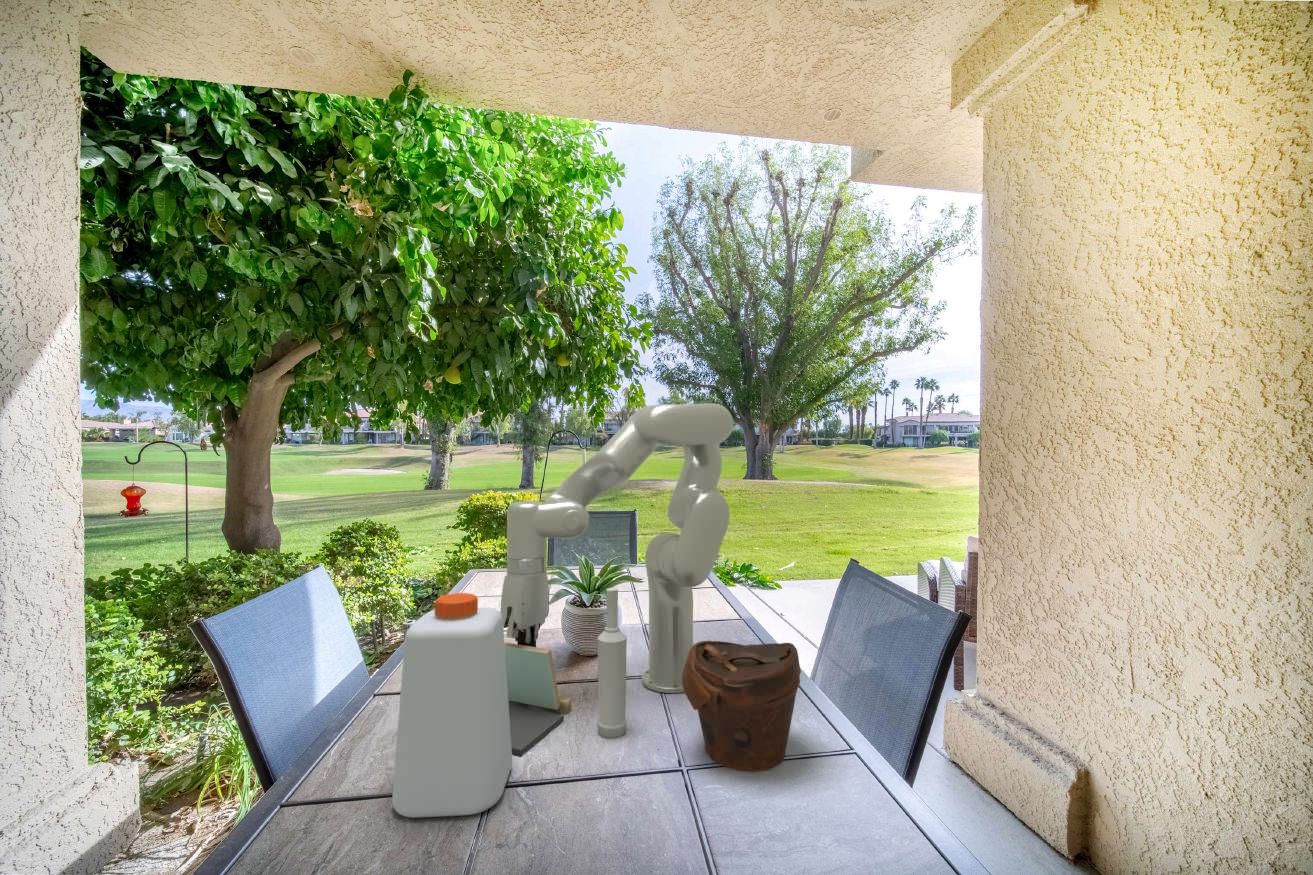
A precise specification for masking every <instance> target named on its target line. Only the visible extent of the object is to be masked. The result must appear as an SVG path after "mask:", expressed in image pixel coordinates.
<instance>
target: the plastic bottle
mask: <svg viewBox="0 0 1313 875" xmlns="http://www.w3.org/2000/svg"><path fill="white" fill-rule="evenodd" d="M478 601H479V598H478V597H477V595H476V594H473V593H468V592H467V593H466V592H458V593H457V592H456V593H449V594H448V593H447V594H445V595H441V596H439V597H437V599H435V601H434V609H433V610H430V611H428V612H426V613H424V614H423V615H422V616H421V617H420V618H419V619H417V620H416V621H415V622H414V623H413V624H412V625H411V626H410V627H409V628H408V629H407V631H406V632H405V636H404V643H403V644H404V646H403V647H404V648H403V657H402V658H403V660H402V671H401V682H400V683H401V685H400V698H399V711H398V722H397V723H398V724H397V733H396V734H397V737H396V748H395V757H394V758H395V760H394V772H393V773H394V774H393V785H392V786H393V787H392V798H391V803H392V806H393V809H394V810H395V812H397V813H398V815H401V816H403V817H405V818H416V819H417V818H437V817H438V818H440V817H457V816H471V815H477V814H480V813H483V812H485V811H487V810H489V809H491V808H492V807H493V806H495V805H496V804H497V803H498V802H499V800H500V799H501V798H502V795H503V793H504V790H505V787H506V784H507V780H508V778H509V775H510V771H511V768H512V766H513V754H512V748H511V733H510V719H509V704H508V690H507V675H506V660H505V646H504V642H505V634H504V628H503V617H502V614H501V612H500V611H499V610H498V609H496V608H493V607H479V602H478Z"/></svg>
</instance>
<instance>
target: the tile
mask: <svg viewBox="0 0 1313 875" xmlns="http://www.w3.org/2000/svg"><path fill="white" fill-rule="evenodd" d="M504 646H505V660H506V675H507V690H508V700H510V701H515V702H520V703H524V704H529V705H534V706H539V707H544V708H549V709H554V710H557V709H558V708H559V707H560V701H559V696H560V695H559V690H558V684H557V678H556V672H555V667H554V660H553V654H552V650H551V649H550V648H544V647H537V646H536V647H531V646H525V645H518V644H517V643H512V642H505V641H504Z"/></svg>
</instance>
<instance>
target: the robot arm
mask: <svg viewBox="0 0 1313 875" xmlns="http://www.w3.org/2000/svg"><path fill="white" fill-rule="evenodd" d="M733 429H734V420H733V416H732V414H731V412H730V410H729V409H728V408H726V407H725V406H724V405H722V404H718V403H713V402H712V403H689V404H688V403H687V404H686V403H685V404H679V403H678V404H677V403H674V404H673V403H672V404H671V403H668V404H667V403H665V404H663V403H662V404H661V403H660V404H655V405H648V406H645V407H642V408H640V409H637V411H635V412H634V413H633V414H632V415H631V416H630V417H629V418H628V419H627V420H626V422H624V423H623V425H622V426H621V427H620V428H619V429H618V430H617V431H616V432H615V433H614V434H613V436H612V437H611V438H610V439H609V440H608V441H607V442H606V443H605V444H604V445H603V446H602V447H601V448H600V449H599V450H598V451H597V452H596V453H595V454H594V455H592V457H590V458H589V459H587V460H586V461H585V462H584V463H583V464H582V465H581V466H580V467H578V468H577V469H576V470H574V471H573V472H572V473H571V474H570V475H569V476H568V477H567V478H566V479H564V481H563V482H561V484H560V485H559V486H558V487H557V488H556V489H555V490H554V491H553V492H552V493H551V494H550V496H548V498H547V499H546V500H545V501H544V502H542V501H539V500H538V501H535V500H522V501H515V502H511V503H510V504H509V505H508V507H507V511H506V512H507V513H506V517H507V518H506V575H505V576H504V580H503V584H502V588H501V589H502V591H501V599H500V612H501V614H502V617H503V629H507V630H506V631H507V632H506V638H510V639H515V640H514V641H515V642H516V644H518V645H525V646H531V647H537V639H538V638H539V637H538V636H539V631H540V628H541V627H542V626H543V625H544V624H545V622H546V619H547V618H548V617H549V612H550V589H549V578H548V568H547V567H548V564H547V563H548V562H547V561H548V559H547V558H548V556H547V555H548V549H547V548H548V544H547V543H548V542H547V541H548V540H547V539H559V540H560V539H561V540H562V539H563V540H572V539H576V538H578V537H580V536H582V535H583V534H584V533H585V532H587V529H588V527H589V525H590V514H589V512H588V509H587V507H588V506H589V504H590V503H591V502H593V501H594V500H595V499H597V498H598V497H599V496H600V495H602V494H604V493H606V492H607V491H609V490H611V489H614V488H616V487H619V486H620V485H622V484H624V483H626V482H627V481H628V480H630V478H632V476H633V475H634V474H635V473H636V472H637V471H638V470H639V469H640V467H641V466H642V465H643V464H644V463H645V461H647V459H648V458H650V456H651V455H652V454H653V453H654V451H655V450H656V449H657V448H658V447H670V446H674V447H675V446H676V447H677V446H678V447H679V446H681V447H682V449H683V454H684V461H683V465H682V469H681V472H680V474H679V477H678V479H677V483H676V486H675V488H674V491H673V493H672V496H671V498H670V500H669V503H668V506H667V507H668V508H667V516H668V519H669V521H670V522H671V524H672V525H673V526H675V527H677V528H679V529H681V530H680V534H678V533H674V532H673V533H672V532H663V533H660V534H657V535H656V536H654V537H653V538H652V539H651V540H649V543H648V545H647V547H646V549H645V550H646V551H645V556H644V558H645V559H644V562H645V568H646V569H645V571H646V575H647V584H648V666H649V667H648V669H647V670H645V671H644V672H643V673H642V675H641V682H642V684H643V686H644V687H645V688H647V689H649V690H651V691H655V692H659V693H665V694H678V693H685V691H684V688H683V684H682V676H683V670H684V667H685V664H686V661H687V658H688V655H689V652H690V649H691V648H692V646H693V645H694V595H693V593H694V592H693V588H694V587H698V586H700V585H702V584H703V583H704V582H705V581H706V580H707V579H708V577H709V576H710V575H711V572H712V570H713V568H714V566H715V563H716V560H717V558H718V555H719V553H720V550H721V546H722V545H723V541H724V539H725V535H726V533H727V529H728V526H729V522H730V514H731V512H730V507H729V504H728V501H727V500H726V498H725V496H723V494H721V493H720V492H719V491H716V490H717V487H718V484H719V481H720V478H721V474H722V469H723V459H722V454H721V451H720V447H719V444H720V443H723V442H724V441H726V440H727V439H728V438H729V437H730V435H731V434H732V432H733Z"/></svg>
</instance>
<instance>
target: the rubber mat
mask: <svg viewBox="0 0 1313 875" xmlns="http://www.w3.org/2000/svg"><path fill="white" fill-rule="evenodd" d="M509 719H510V733H511V748H512V756H513V755H514V756H518V757H522V756H523V755H524V754H526V753H527V752H528V751H529V750H531V748H533V747H534V746H535V745H537V744H538V743H539V742H540V741H541V740H543V739H544V738H545V737H547V735H548V734H550V733H551V732H553V731H554V730H555V729H556V728H557V727H559V725H561V724H562V723H563V722H564V714H563V715H562V714H560V715H558V714H553V713H548V712H544V711H539V710H534V709H529V708H524V707H519V706H514V705H509Z"/></svg>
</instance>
